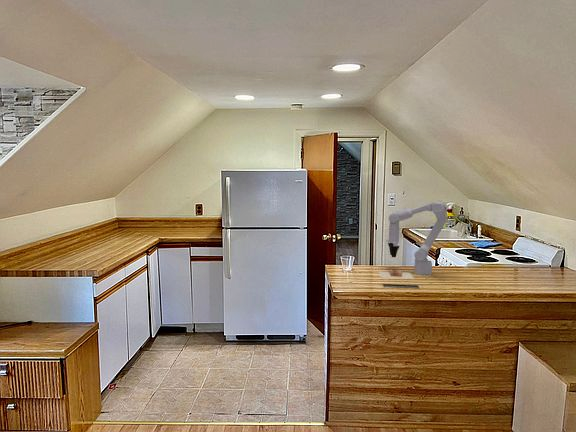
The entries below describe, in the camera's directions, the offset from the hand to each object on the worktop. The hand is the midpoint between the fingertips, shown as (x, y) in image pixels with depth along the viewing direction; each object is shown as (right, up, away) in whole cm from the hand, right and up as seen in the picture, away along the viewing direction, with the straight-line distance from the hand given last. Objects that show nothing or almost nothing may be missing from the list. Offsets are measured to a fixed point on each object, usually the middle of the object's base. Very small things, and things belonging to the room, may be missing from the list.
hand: (393, 256), depth 247 cm
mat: (-3, -12, -24) cm, 28 cm away
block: (-1, -10, -10) cm, 14 cm away
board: (-1, -11, -11) cm, 16 cm away
